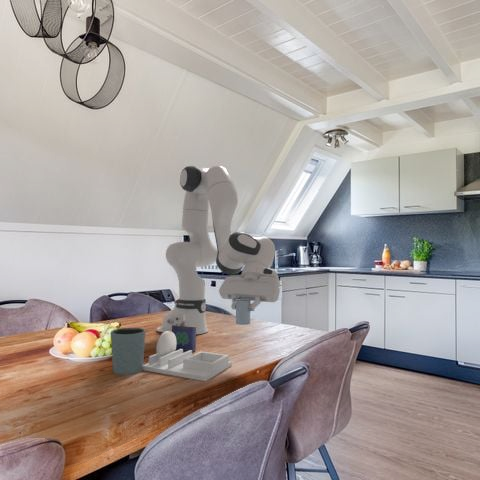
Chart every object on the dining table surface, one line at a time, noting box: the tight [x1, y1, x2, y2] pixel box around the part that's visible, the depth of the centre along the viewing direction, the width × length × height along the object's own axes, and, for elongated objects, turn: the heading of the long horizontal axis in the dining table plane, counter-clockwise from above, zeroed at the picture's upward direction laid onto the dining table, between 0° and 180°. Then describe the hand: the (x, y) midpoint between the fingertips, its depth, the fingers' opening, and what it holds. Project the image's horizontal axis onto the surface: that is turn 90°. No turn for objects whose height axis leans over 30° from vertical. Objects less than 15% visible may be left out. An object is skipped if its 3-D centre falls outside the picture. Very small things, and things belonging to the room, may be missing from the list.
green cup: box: [110, 327, 146, 376], centre depth 116 cm, size 10×10×12 cm
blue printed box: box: [172, 321, 197, 353], centre depth 138 cm, size 9×3×11 cm, turn 74°
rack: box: [142, 331, 233, 382], centre depth 119 cm, size 22×16×10 cm
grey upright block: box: [235, 300, 251, 326], centre depth 124 cm, size 5×5×7 cm
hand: (242, 309), depth 124 cm, fingers closed on grey upright block, 5 cm apart
